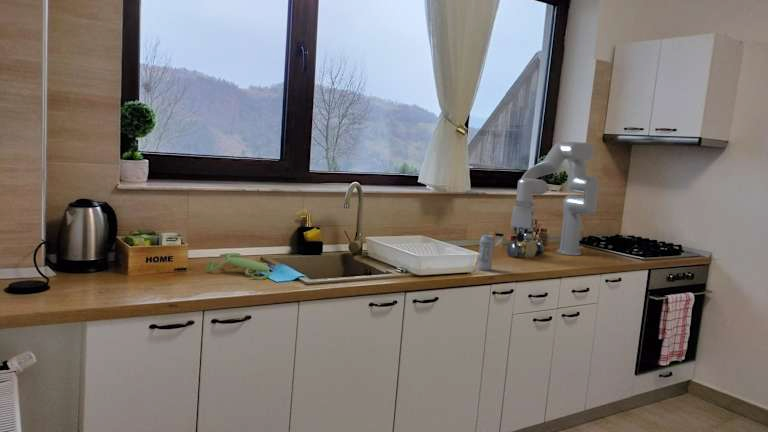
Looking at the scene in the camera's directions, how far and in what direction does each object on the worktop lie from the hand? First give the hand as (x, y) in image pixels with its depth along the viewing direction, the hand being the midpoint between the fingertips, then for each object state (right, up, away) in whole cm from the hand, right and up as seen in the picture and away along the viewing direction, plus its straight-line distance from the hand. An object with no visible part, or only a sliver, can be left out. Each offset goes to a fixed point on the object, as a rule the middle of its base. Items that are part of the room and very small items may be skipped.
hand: (519, 241), depth 291 cm
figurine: (-121, -9, -65) cm, 138 cm away
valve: (+5, -8, +11) cm, 14 cm away
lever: (+1, +1, +5) cm, 5 cm away
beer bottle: (+9, -6, +32) cm, 33 cm away
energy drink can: (-22, -11, -28) cm, 38 cm away
